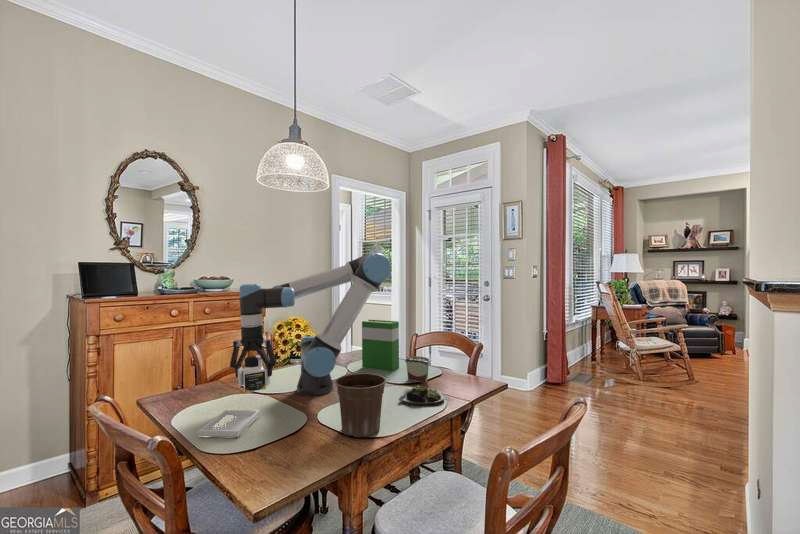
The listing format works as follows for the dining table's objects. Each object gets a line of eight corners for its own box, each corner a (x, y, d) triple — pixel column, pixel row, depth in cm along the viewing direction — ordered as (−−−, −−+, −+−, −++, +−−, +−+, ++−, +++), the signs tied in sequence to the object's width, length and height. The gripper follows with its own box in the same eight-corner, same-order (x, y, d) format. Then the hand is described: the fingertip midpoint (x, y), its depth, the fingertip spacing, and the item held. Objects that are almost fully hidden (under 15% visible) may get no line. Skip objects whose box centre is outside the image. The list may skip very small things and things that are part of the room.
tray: (260, 416, 133) (260, 410, 133) (238, 438, 116) (238, 431, 116) (225, 416, 133) (225, 410, 133) (198, 438, 116) (198, 430, 116)
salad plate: (397, 390, 160) (397, 379, 160) (439, 389, 161) (439, 378, 161) (398, 407, 141) (398, 395, 141) (446, 406, 141) (446, 394, 141)
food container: (435, 379, 173) (434, 358, 173) (428, 383, 168) (428, 361, 168) (412, 375, 180) (411, 355, 180) (405, 379, 175) (405, 357, 175)
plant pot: (371, 415, 133) (371, 370, 133) (396, 432, 119) (395, 381, 119) (328, 426, 124) (327, 377, 124) (348, 446, 110) (348, 391, 110)
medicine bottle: (245, 393, 135) (243, 360, 135) (243, 387, 142) (242, 355, 142) (266, 389, 139) (264, 357, 138) (263, 384, 145) (262, 353, 145)
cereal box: (362, 367, 195) (361, 321, 195) (369, 364, 202) (369, 319, 202) (392, 371, 187) (392, 323, 187) (399, 367, 194) (398, 321, 194)
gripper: (284, 322, 143) (287, 381, 144) (227, 324, 144) (230, 382, 144) (277, 326, 136) (280, 388, 136) (217, 328, 136) (220, 389, 137)
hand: (254, 385), depth 140 cm, fingers closed on medicine bottle, 9 cm apart
